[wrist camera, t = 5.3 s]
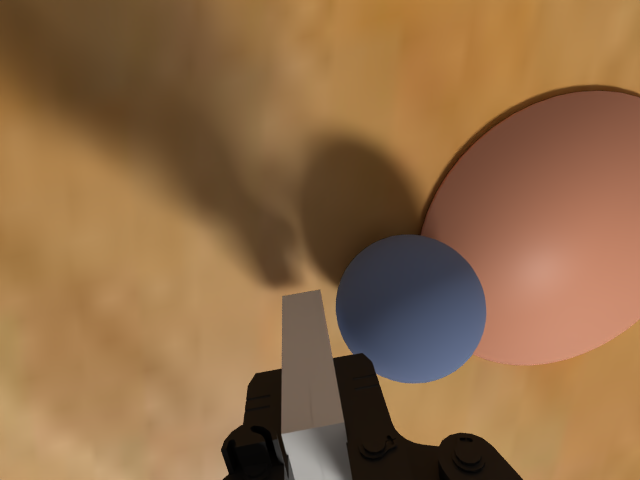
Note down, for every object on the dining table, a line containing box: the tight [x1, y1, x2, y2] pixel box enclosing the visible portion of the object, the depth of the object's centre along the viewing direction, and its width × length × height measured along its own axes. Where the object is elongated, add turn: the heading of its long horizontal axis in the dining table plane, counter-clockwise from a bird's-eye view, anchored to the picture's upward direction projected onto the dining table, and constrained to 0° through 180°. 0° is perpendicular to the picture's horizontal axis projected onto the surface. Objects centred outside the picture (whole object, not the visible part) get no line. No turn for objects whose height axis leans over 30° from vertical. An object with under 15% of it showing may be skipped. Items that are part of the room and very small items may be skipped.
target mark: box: [421, 91, 640, 365], centre depth 18 cm, size 13×13×1 cm
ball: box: [336, 235, 486, 383], centre depth 15 cm, size 6×6×6 cm
